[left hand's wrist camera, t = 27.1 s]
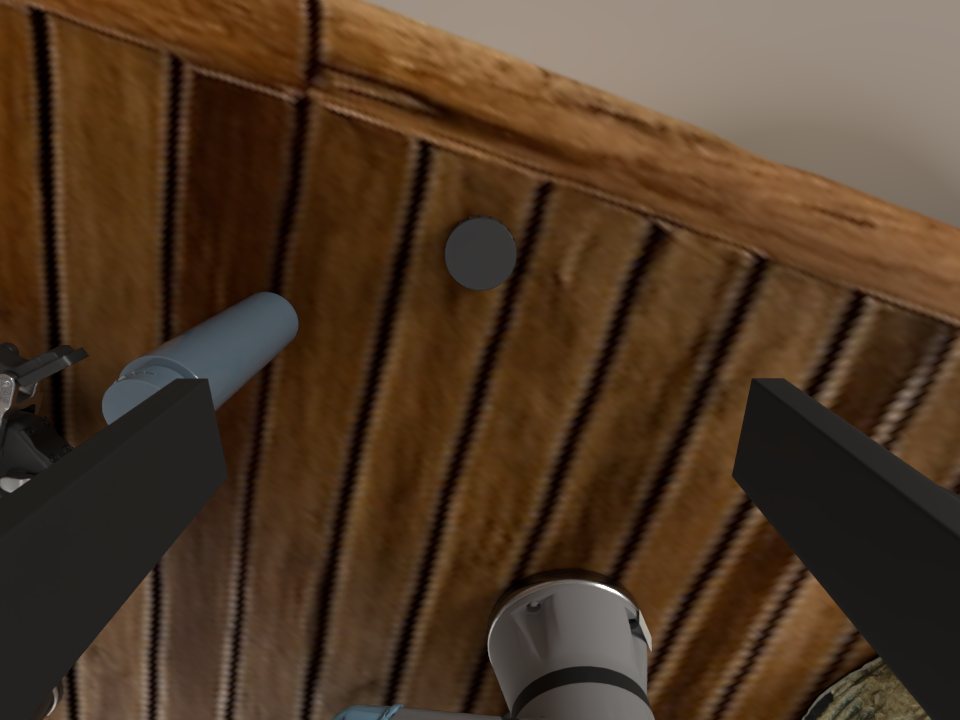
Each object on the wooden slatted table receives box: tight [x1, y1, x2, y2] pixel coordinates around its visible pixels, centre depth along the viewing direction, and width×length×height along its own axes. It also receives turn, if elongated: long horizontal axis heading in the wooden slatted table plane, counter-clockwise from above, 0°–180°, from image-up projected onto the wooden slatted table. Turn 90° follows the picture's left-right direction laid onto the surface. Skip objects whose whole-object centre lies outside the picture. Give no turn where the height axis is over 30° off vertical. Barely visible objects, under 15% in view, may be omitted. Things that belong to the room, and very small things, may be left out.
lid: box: [444, 215, 517, 290], centre depth 36 cm, size 5×5×2 cm
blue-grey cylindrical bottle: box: [102, 292, 298, 425], centre depth 32 cm, size 5×5×16 cm
